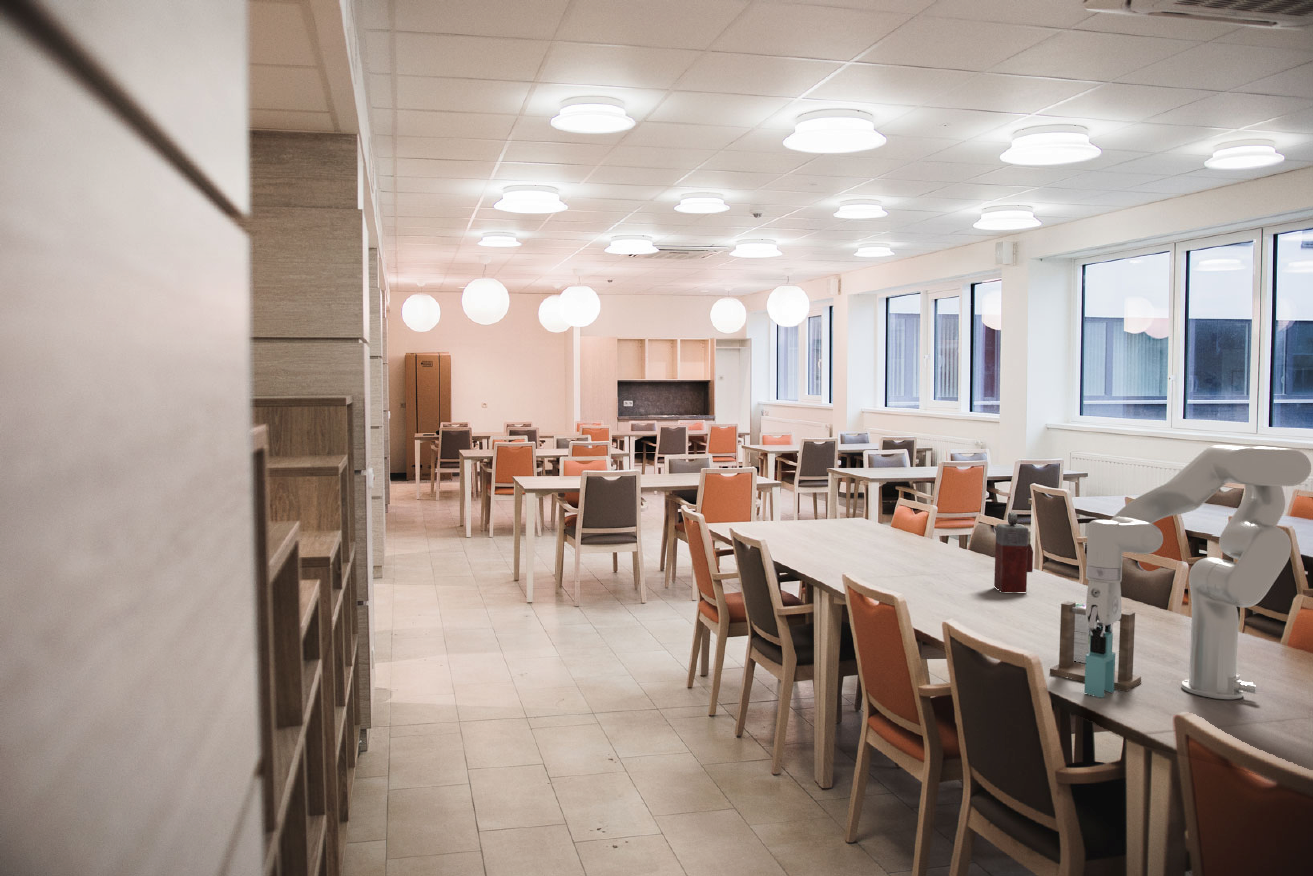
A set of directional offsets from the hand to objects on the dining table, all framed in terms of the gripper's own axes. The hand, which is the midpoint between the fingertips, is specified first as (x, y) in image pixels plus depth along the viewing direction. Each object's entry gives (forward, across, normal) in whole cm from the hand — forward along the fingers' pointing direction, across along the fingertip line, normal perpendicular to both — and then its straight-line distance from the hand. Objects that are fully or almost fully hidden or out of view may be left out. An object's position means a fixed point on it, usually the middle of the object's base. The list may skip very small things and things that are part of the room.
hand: (1100, 651), depth 219 cm
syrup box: (+10, +25, +14) cm, 30 cm away
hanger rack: (+10, +11, +5) cm, 16 cm away
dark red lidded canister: (+10, +99, +65) cm, 119 cm away
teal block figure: (+10, 0, 0) cm, 10 cm away
